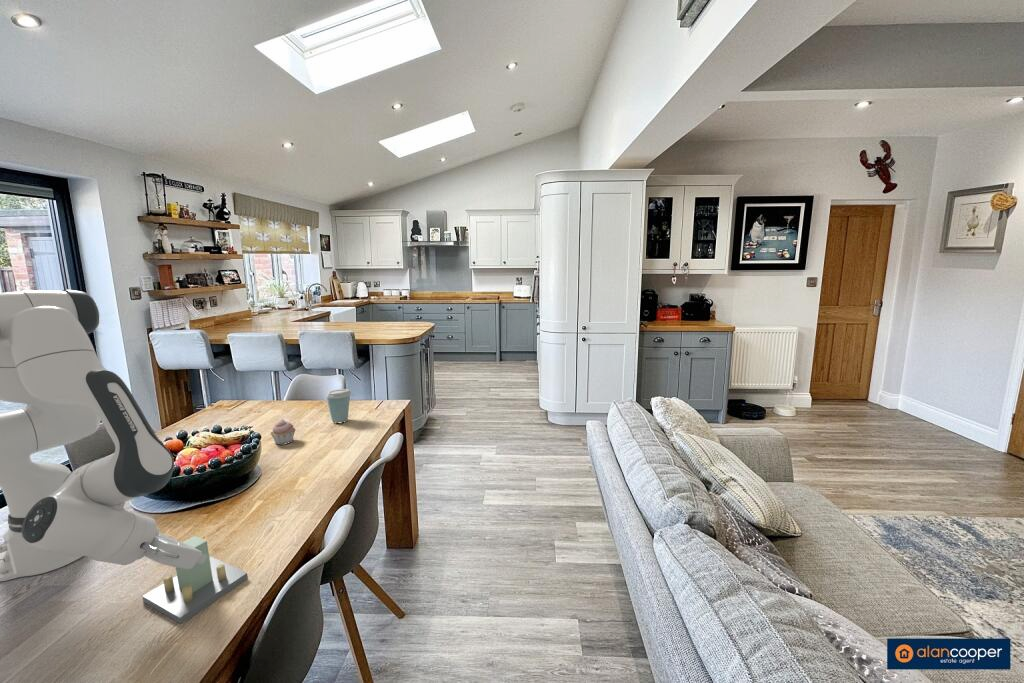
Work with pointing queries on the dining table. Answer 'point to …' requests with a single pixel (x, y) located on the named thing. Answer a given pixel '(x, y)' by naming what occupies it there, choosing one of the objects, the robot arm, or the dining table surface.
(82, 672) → the dining table surface
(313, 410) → the dining table surface
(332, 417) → the disposable coffee cup
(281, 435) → the cupcake
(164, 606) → the plate
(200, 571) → the green block
